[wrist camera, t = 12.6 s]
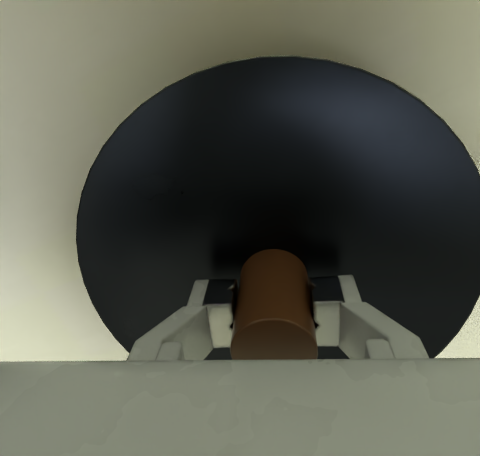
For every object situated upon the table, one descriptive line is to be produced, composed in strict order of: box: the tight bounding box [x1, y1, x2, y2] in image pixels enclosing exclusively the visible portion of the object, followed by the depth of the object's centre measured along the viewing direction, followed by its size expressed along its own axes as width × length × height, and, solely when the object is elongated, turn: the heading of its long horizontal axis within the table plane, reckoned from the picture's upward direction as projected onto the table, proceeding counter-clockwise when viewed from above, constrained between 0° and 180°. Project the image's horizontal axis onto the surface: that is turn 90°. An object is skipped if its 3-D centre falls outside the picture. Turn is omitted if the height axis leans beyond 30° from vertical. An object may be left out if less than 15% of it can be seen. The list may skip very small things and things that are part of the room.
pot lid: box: [76, 55, 480, 360], centre depth 13 cm, size 16×16×5 cm
